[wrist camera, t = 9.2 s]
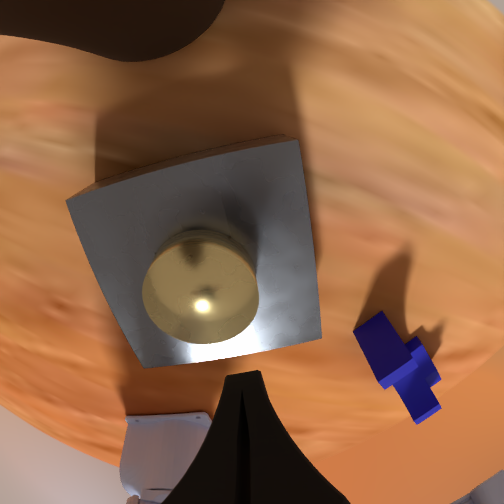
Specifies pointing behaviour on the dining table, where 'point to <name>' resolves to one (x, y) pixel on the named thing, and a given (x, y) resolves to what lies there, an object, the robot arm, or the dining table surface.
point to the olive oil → (111, 24)
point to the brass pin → (201, 288)
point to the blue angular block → (400, 365)
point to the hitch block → (215, 219)
